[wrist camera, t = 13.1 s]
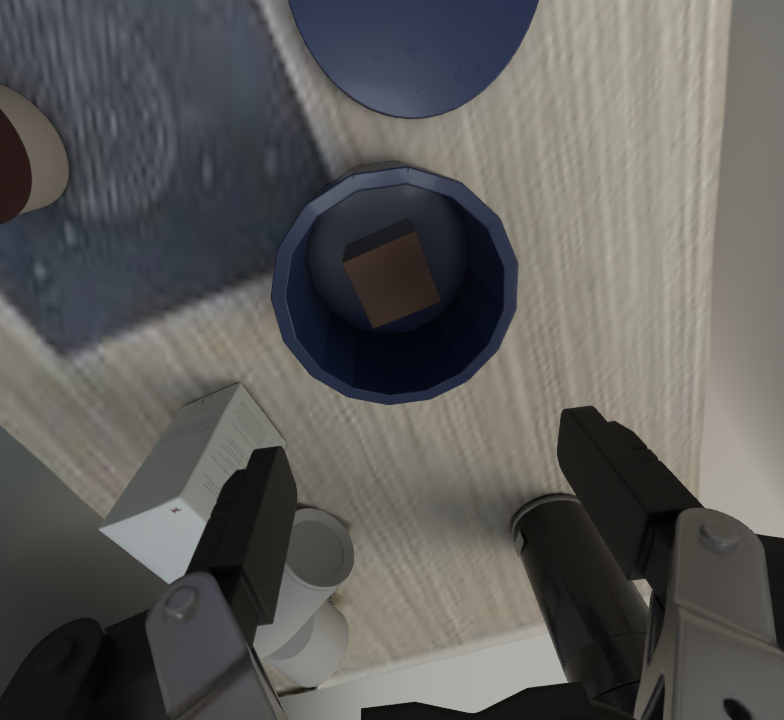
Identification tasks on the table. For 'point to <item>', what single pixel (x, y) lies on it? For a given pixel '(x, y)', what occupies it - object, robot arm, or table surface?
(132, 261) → the table surface
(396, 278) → the block
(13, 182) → the coffee cup
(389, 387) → the tin
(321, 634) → the bent grey cylinder
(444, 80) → the lid
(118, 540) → the small box
